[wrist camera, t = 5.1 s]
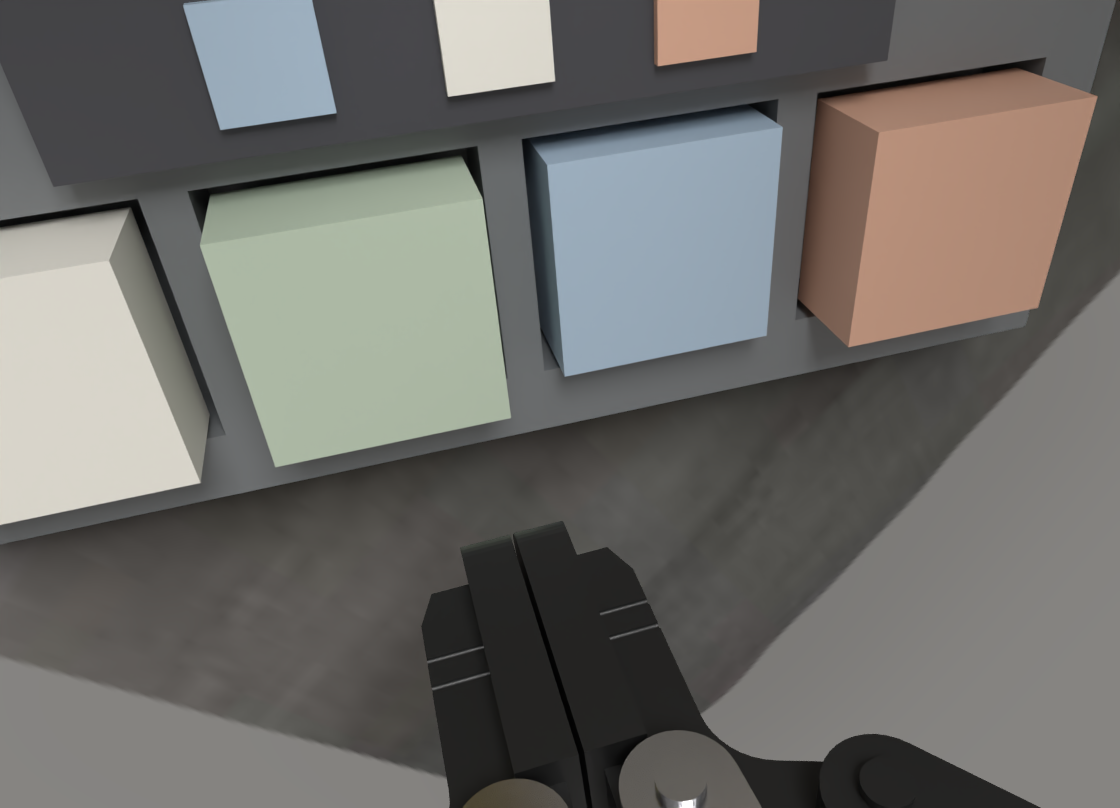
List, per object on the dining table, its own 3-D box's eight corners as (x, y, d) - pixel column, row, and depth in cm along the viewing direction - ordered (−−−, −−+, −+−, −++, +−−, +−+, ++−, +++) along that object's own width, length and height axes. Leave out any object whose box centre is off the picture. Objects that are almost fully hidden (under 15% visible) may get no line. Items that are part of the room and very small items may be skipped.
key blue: (520, 127, 19) (547, 164, 17) (733, 95, 20) (782, 127, 18) (539, 324, 22) (564, 376, 20) (724, 289, 23) (766, 335, 21)
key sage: (210, 194, 17) (199, 245, 15) (460, 154, 18) (482, 198, 16) (277, 401, 20) (275, 467, 18) (489, 359, 21) (510, 417, 19)
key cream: (-154, 252, 16) (-218, 314, 14) (130, 206, 17) (109, 260, 15) (-28, 461, 19) (-65, 538, 17) (209, 414, 20) (200, 482, 18)
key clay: (817, 99, 19) (879, 132, 17) (1016, 67, 20) (1097, 95, 18) (797, 298, 22) (848, 346, 20) (972, 264, 23) (1037, 307, 21)
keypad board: (-368, -59, 15) (-550, -23, 12) (1063, -203, 19) (1216, -206, 16) (-36, 478, 22) (-93, 593, 19) (958, 279, 26) (1050, 344, 23)
